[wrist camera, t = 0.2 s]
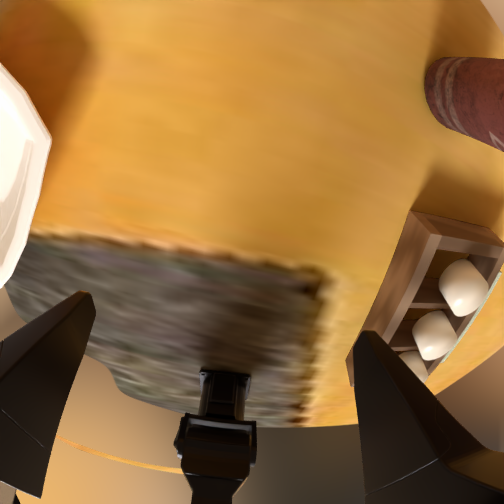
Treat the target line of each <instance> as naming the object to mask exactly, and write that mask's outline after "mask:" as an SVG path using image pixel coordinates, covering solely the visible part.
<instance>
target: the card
mask: <svg viewBox="0 0 504 504" xmlns="http://www.w3.org/2000/svg"><path fill="white" fill-rule="evenodd" d="M501 274H502V272H501V271H499V273H498V274H497V276H496V278H495V280H494V282H493V284H492V286H491V287H490V289H489V291H488V293H487V296H486V298H485V300H484V301H483V303H482V304H481V305H480V306H479V308H478V309H477V311H476V313H475V314H474V316H473V317H472V319H471V320H470V322H469V323H468V325H467V326H466V328H465V329H464V331H463V332H462V334H461V335H460V336H459V338H458V339H457V341H456V343H455V345H454V346H453V347H452V349H451V350H450V351H449V352H448V353H447V354H446V355H445V357H444V358H443V359H442V361H441V362H440V363H443V362H444V361H445V360H446V358H447V357H448V356H449V355H450V353H451V352H452V351H453V349H454V348H455V347H456V345H457V344H458V343H459V341H460V340H461V338H462V337H463V336H464V334H465V333H466V331H467V330H468V328H469V327H470V326H471V324H472V323H473V321H474V319H475V318H476V316H477V315H478V313H479V312H480V310H481V309H482V307H483V305H484V304H485V302H486V300H487V299H488V297H489V295H490V294H491V292H492V290H493V288H494V286H495V285H496V283H497V281H498V279H499V277H500V275H501Z"/></svg>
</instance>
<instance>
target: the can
mask: <svg viewBox="0 0 504 504" xmlns="http://www.w3.org/2000/svg"><path fill="white" fill-rule="evenodd" d="M425 94H426V100H427V103H428V105H429V107H430V110H431V112H432V114H433V115H434V116H435V118H436V119H437V120H438V122H440V123H441V124H442V125H444V126H445V127H446V128H449V129H452V130H454V131H457V132H459V133H462V134H464V135H467V136H469V137H472V138H474V139H477V140H479V141H481V142H483V143H486V144H488V145H490V146H492V147H494V148H497V149H499V150H501V151H503V152H504V59H495V58H476V57H444V58H441V59H439V60H436V61H435V62H434V63H433V64H432V65H431V67H430V68H429V70H428V73H427V75H426V79H425Z"/></svg>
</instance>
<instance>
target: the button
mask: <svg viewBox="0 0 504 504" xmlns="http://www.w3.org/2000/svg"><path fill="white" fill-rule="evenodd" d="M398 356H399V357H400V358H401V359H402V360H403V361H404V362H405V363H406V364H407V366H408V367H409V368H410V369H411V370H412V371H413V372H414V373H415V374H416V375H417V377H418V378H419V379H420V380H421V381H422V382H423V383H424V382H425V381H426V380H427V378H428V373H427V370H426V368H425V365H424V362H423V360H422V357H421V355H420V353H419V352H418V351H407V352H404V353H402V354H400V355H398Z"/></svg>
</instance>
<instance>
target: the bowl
mask: <svg viewBox="0 0 504 504" xmlns="http://www.w3.org/2000/svg"><path fill="white" fill-rule="evenodd" d="M51 144H52V136H51V134H50V133H49V131H48V129H47V127H46V126H45V124H44V122H43V121H42V119H41V117H40V115H39V113H38V112H37V110H36V108H35V106H34V104H33V103H32V101H31V99H30V97H29V95H28V93H27V91H26V90H25V89H24V88H23V87H22V86H21V85H20V84H19V83H18V81H17V80H16V79H15V78H14V77H13V76H12V75H11V74H10V73H9V72H8V70H7V69H6V68H5V67H4V66H3V65H2V64H1V63H0V288H1V287H2V286H3V285H4V284H5V283H6V281H7V280H8V279H9V278H10V277H11V275H12V274H13V271H14V269H15V267H16V264H17V262H18V260H19V258H20V256H21V253H22V251H23V249H24V247H25V245H26V242H27V238H28V234H29V230H30V227H31V223H32V219H33V216H34V212H35V209H36V206H37V203H38V200H39V196H40V193H41V188H42V182H43V177H44V173H45V168H46V164H47V160H48V156H49V152H50V148H51Z"/></svg>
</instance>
